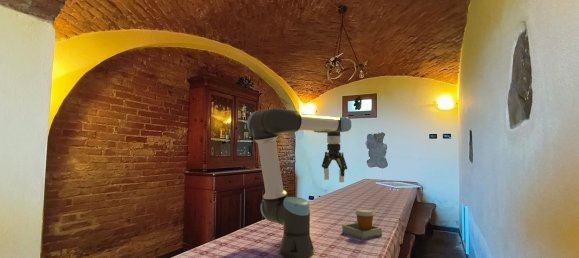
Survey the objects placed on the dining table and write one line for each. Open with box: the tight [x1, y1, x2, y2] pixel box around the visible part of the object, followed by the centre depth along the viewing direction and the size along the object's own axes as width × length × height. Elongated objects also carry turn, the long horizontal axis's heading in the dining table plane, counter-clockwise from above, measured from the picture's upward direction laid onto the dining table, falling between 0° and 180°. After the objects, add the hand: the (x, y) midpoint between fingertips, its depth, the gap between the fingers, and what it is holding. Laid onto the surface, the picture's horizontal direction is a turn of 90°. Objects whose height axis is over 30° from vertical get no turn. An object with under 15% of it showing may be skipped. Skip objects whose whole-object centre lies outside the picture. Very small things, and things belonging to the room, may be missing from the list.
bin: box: [341, 222, 383, 241], centre depth 157 cm, size 14×15×4 cm
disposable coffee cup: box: [355, 208, 375, 231], centre depth 156 cm, size 10×10×12 cm
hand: (333, 180), depth 167 cm, fingers open, 13 cm apart
